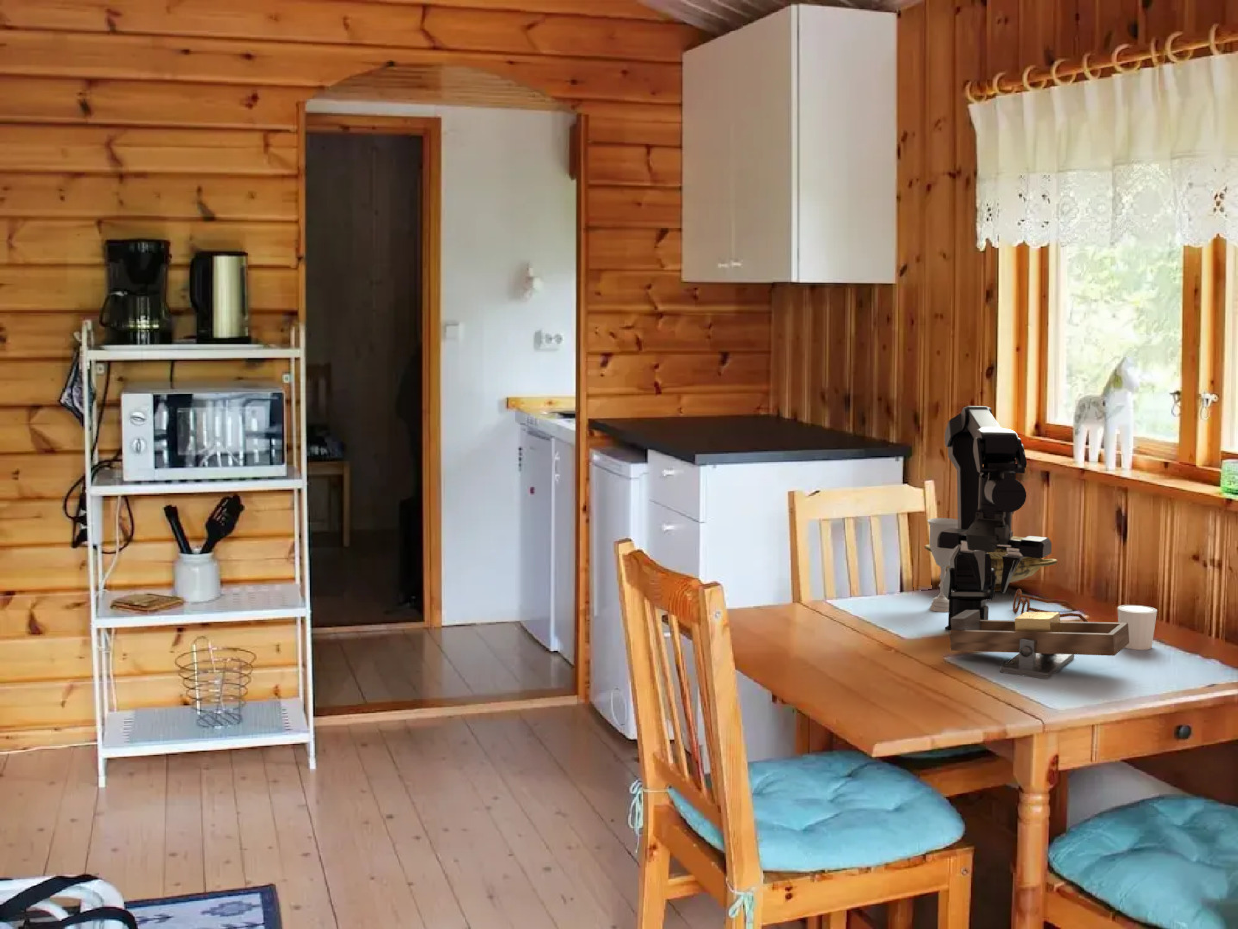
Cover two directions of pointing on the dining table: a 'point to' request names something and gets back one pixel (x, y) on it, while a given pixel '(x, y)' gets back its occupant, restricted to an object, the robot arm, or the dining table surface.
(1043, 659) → the pivot stand
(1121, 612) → the white cup
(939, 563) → the chalice
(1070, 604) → the glasses
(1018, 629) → the brass block
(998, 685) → the dining table surface
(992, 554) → the ceramic bowl
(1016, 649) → the beam
